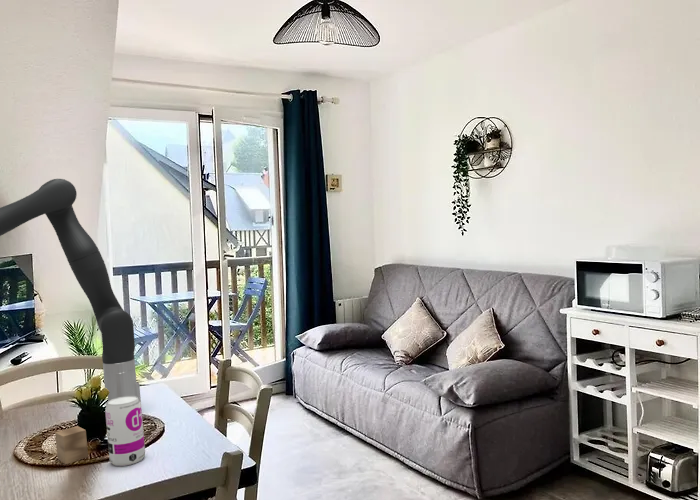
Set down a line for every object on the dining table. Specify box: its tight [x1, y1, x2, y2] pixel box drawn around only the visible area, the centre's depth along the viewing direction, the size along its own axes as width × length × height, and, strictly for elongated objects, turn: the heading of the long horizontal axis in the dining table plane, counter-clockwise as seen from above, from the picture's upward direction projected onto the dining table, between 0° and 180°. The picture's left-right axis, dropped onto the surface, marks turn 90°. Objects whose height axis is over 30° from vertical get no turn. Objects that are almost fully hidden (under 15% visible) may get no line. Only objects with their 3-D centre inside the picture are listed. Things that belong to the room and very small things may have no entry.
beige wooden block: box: [54, 425, 89, 465], centre depth 151 cm, size 6×6×7 cm
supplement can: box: [105, 396, 146, 467], centre depth 147 cm, size 8×8×15 cm
